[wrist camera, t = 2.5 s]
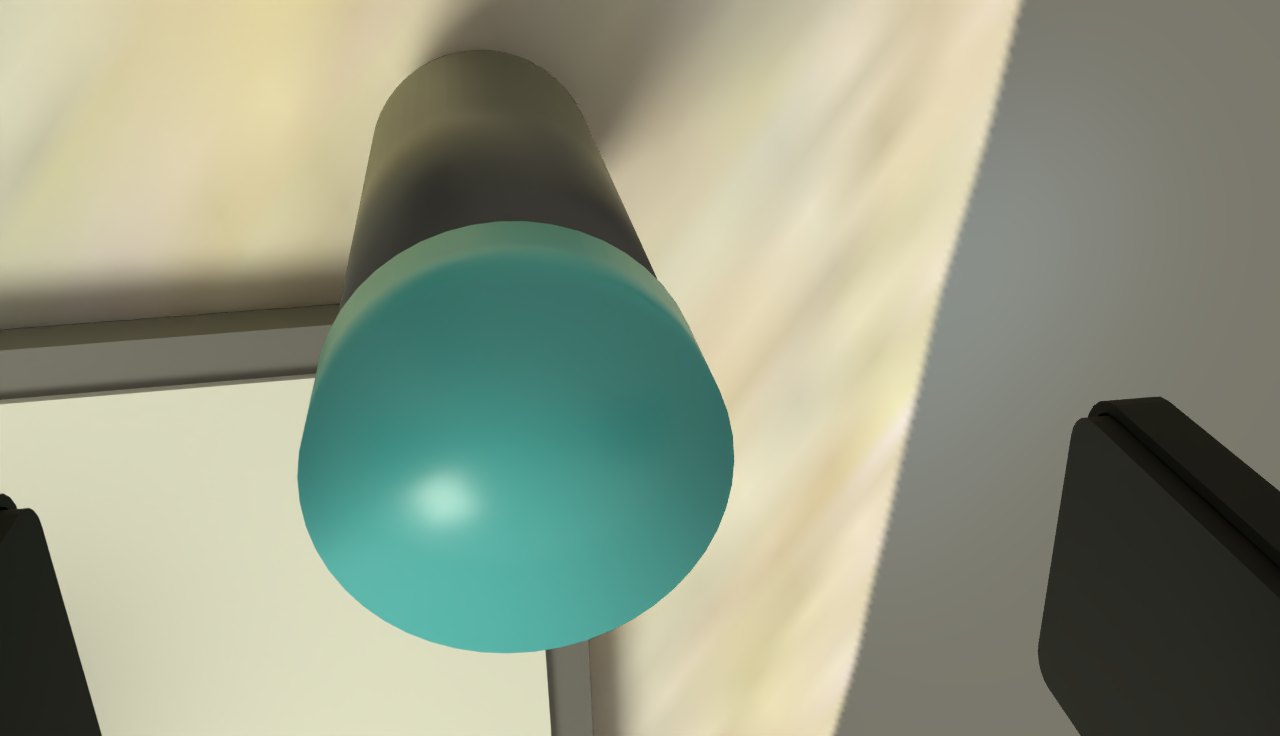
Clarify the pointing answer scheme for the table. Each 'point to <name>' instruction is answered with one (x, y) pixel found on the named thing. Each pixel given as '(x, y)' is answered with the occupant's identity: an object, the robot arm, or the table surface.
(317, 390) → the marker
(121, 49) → the table surface
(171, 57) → the table surface
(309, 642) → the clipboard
